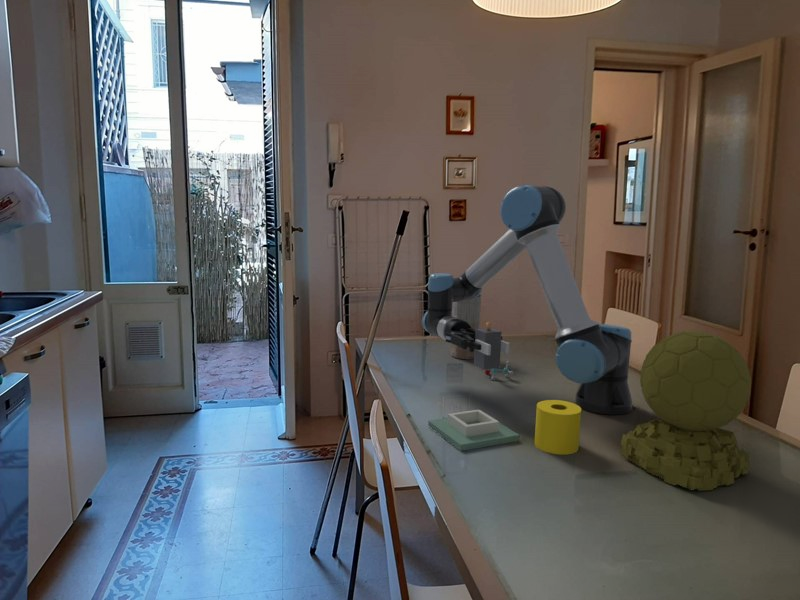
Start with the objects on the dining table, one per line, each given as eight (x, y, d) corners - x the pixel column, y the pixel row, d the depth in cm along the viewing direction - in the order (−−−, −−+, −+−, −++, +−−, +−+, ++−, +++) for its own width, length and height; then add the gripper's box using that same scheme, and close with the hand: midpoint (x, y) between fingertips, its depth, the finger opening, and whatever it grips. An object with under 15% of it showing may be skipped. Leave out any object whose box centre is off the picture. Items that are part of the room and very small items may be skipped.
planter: (459, 351, 226) (462, 291, 222) (483, 355, 220) (486, 294, 217) (445, 356, 218) (447, 294, 214) (469, 361, 212) (472, 297, 209)
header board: (482, 418, 157) (483, 403, 157) (518, 440, 143) (519, 424, 142) (428, 426, 151) (428, 411, 150) (460, 451, 137) (460, 434, 136)
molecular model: (515, 363, 198) (507, 341, 192) (516, 384, 191) (508, 362, 185) (481, 369, 201) (472, 348, 196) (481, 390, 194) (472, 369, 188)
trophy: (674, 439, 146) (687, 317, 141) (763, 476, 127) (781, 338, 122) (606, 455, 136) (617, 325, 131) (692, 498, 117) (709, 348, 112)
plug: (489, 363, 166) (491, 320, 164) (499, 367, 162) (501, 324, 160) (473, 364, 164) (475, 321, 162) (483, 369, 160) (485, 325, 158)
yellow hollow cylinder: (525, 440, 144) (528, 402, 142) (560, 434, 147) (562, 397, 146) (552, 457, 134) (554, 417, 133) (587, 450, 138) (590, 411, 137)
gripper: (480, 340, 182) (526, 360, 161) (427, 345, 175) (468, 366, 154) (481, 316, 181) (528, 332, 160) (427, 320, 174) (469, 337, 153)
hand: (498, 349), depth 157 cm, fingers closed on plug, 5 cm apart
